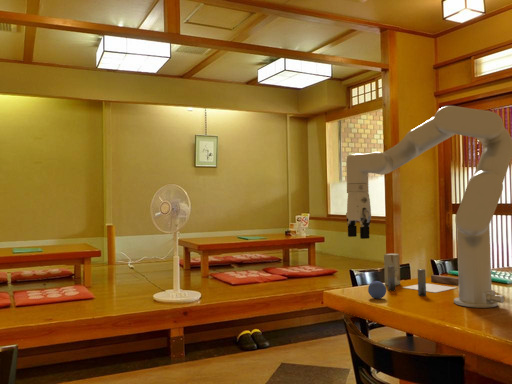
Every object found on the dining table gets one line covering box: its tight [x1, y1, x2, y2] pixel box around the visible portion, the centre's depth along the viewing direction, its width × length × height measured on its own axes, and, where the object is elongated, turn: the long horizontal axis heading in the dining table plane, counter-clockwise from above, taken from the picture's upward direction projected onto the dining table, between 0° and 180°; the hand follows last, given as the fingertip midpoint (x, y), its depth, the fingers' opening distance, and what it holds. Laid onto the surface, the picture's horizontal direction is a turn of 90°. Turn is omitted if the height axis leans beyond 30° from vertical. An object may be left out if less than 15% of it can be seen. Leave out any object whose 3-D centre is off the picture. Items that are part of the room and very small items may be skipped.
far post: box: [387, 266, 396, 292], centre depth 176 cm, size 3×3×9 cm
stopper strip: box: [430, 274, 459, 286], centre depth 187 cm, size 16×2×2 cm, turn 36°
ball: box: [367, 280, 387, 300], centre depth 161 cm, size 6×6×6 cm
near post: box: [417, 268, 427, 297], centre depth 165 cm, size 3×3×9 cm
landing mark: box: [402, 283, 457, 294], centre depth 178 cm, size 14×14×1 cm
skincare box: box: [383, 253, 401, 287], centre depth 188 cm, size 6×4×12 cm
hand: (358, 237), depth 165 cm, fingers open, 9 cm apart
